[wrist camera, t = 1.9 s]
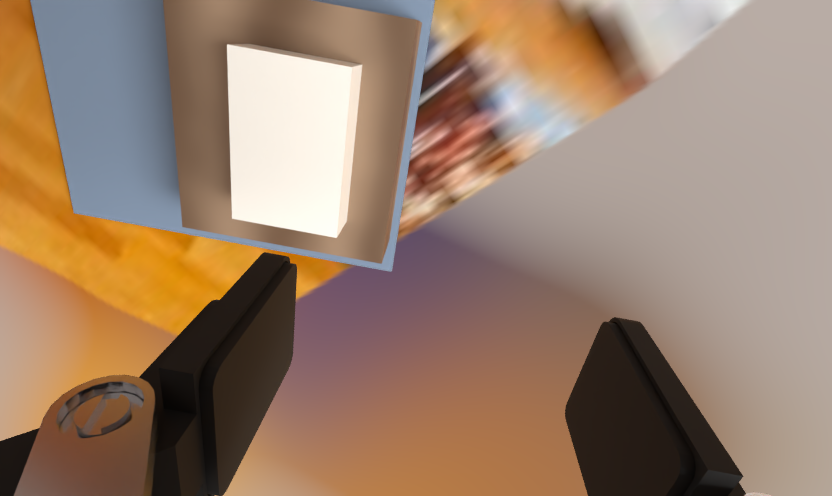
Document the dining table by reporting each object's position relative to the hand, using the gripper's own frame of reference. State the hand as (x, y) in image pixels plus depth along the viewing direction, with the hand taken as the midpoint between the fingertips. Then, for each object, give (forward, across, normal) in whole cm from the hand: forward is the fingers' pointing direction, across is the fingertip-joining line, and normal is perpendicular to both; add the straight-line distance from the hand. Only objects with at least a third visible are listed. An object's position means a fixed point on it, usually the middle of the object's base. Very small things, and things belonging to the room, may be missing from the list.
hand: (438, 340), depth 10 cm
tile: (+16, +8, 0) cm, 18 cm away
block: (+19, +9, 0) cm, 22 cm away
